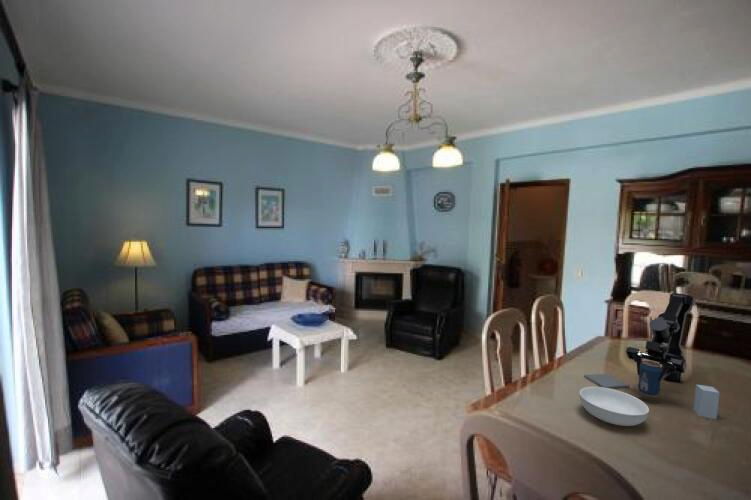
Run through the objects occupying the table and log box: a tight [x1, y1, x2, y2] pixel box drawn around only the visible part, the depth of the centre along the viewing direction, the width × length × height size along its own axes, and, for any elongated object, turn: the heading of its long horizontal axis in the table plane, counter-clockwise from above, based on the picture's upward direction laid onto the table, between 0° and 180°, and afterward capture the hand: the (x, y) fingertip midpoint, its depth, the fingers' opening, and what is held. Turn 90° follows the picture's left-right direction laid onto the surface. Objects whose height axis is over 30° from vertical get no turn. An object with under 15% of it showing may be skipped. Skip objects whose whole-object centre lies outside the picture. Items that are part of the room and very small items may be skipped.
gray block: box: [692, 384, 720, 420], centre depth 138 cm, size 5×5×10 cm
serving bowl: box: [579, 386, 650, 427], centre depth 134 cm, size 21×21×7 cm
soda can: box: [637, 360, 662, 397], centre depth 147 cm, size 7×7×12 cm
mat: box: [583, 373, 630, 390], centre depth 164 cm, size 12×12×1 cm
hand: (648, 377), depth 146 cm, fingers closed on soda can, 7 cm apart
